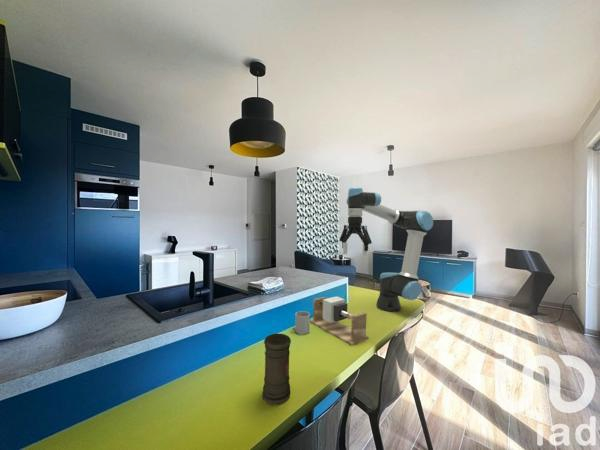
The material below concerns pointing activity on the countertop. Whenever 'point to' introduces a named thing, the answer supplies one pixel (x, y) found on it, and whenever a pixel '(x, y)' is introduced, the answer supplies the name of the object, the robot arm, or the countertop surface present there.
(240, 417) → the countertop surface
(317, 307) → the stand
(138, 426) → the countertop surface
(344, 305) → the dark grey square plate
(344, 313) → the pipe
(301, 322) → the cup
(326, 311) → the sleeve
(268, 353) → the container
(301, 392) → the countertop surface
